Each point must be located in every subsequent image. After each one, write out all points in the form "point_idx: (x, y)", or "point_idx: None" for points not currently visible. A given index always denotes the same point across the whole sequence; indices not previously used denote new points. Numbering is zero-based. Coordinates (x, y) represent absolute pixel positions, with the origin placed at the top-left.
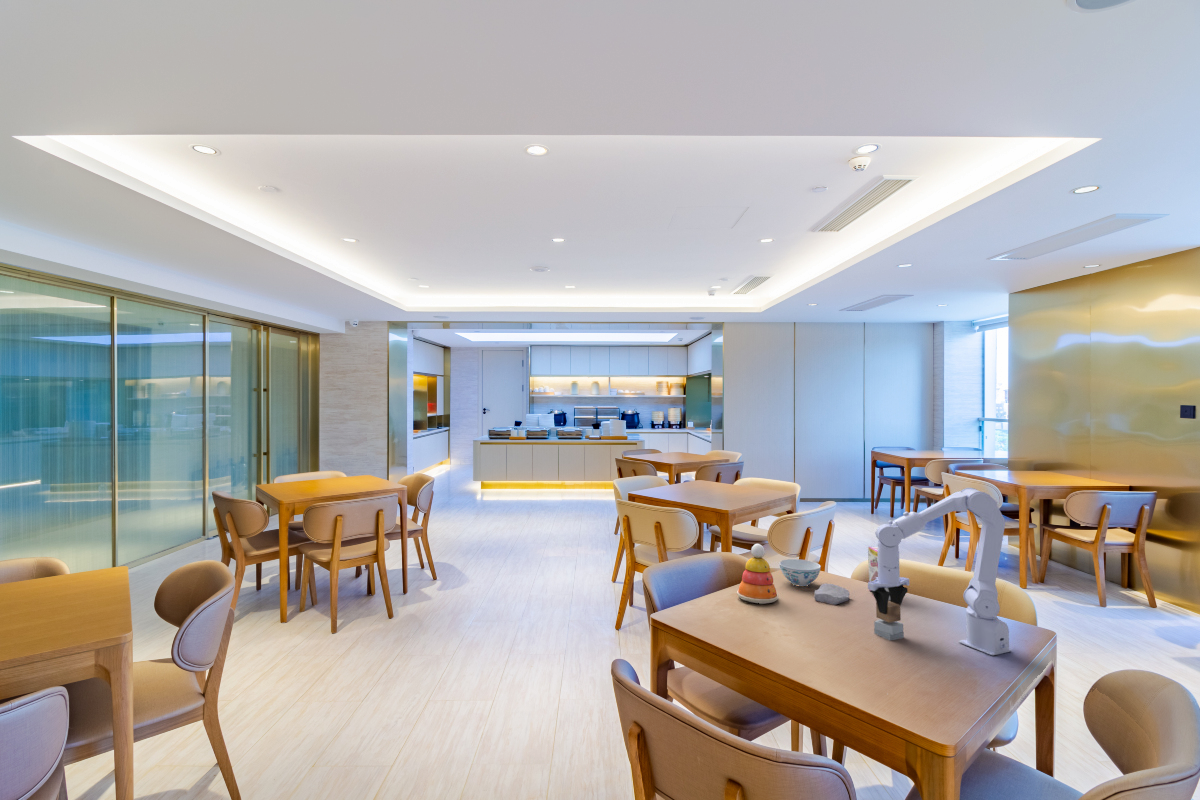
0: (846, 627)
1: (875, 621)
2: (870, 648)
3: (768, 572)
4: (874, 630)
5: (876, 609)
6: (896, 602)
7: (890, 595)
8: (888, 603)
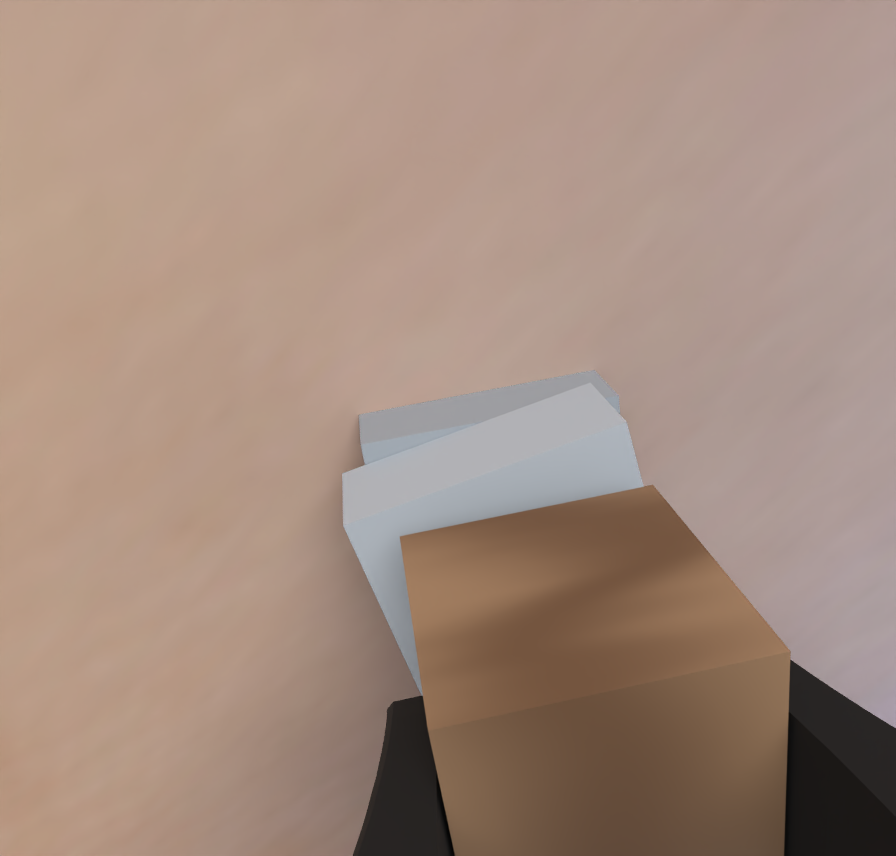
0: (76, 136)
1: (352, 539)
2: (42, 751)
3: None
4: (361, 433)
5: (414, 619)
6: (806, 844)
7: (890, 824)
8: (635, 816)
